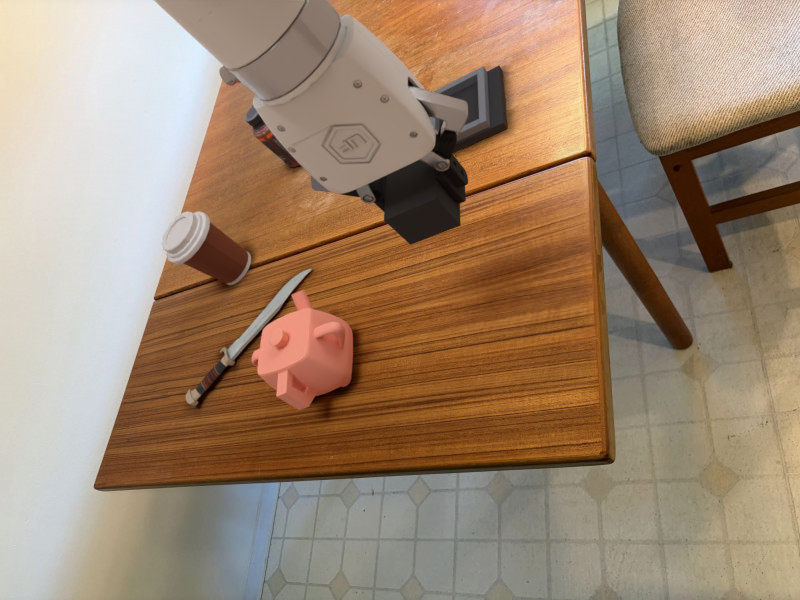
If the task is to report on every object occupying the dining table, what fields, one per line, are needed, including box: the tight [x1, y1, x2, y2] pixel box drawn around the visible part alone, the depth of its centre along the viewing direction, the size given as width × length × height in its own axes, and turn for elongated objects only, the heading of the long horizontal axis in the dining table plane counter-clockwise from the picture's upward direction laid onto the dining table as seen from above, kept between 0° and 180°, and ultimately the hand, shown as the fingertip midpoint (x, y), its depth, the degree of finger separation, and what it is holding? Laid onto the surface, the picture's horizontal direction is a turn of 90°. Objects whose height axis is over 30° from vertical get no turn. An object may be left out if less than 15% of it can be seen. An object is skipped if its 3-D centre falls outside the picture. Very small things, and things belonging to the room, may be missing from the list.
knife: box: [185, 268, 313, 407], centre depth 82 cm, size 27×2×5 cm
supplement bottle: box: [244, 105, 301, 168], centre depth 93 cm, size 6×6×11 cm
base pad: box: [429, 65, 508, 153], centre depth 75 cm, size 12×11×2 cm
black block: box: [383, 160, 461, 245], centre depth 48 cm, size 5×7×4 cm
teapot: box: [251, 289, 354, 411], centre depth 66 cm, size 12×12×10 cm
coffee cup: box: [161, 210, 252, 286], centre depth 89 cm, size 9×9×12 cm
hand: (432, 200), depth 49 cm, fingers closed on black block, 5 cm apart
